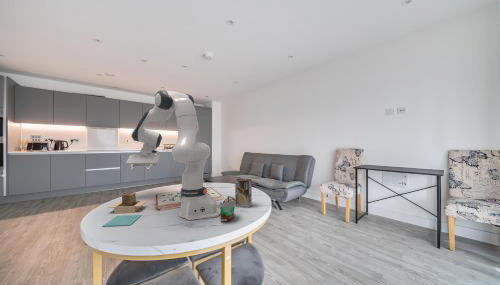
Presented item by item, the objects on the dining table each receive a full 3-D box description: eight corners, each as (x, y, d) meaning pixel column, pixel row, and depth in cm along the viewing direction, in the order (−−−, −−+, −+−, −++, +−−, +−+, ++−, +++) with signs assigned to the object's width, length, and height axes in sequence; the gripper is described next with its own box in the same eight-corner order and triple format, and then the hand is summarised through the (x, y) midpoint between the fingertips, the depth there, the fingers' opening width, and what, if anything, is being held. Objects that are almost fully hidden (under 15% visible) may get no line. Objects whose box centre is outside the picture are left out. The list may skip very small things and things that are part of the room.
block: (135, 208, 111) (135, 192, 111) (131, 211, 106) (131, 195, 106) (126, 208, 111) (126, 193, 111) (121, 211, 106) (121, 195, 106)
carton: (147, 206, 115) (147, 200, 115) (140, 212, 105) (140, 206, 105) (118, 207, 113) (118, 201, 113) (108, 213, 102) (108, 207, 102)
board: (141, 215, 100) (141, 214, 100) (130, 225, 88) (130, 224, 88) (117, 216, 99) (117, 215, 99) (102, 226, 87) (102, 225, 87)
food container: (231, 224, 90) (232, 203, 90) (219, 223, 91) (219, 202, 91) (238, 215, 102) (238, 196, 102) (227, 214, 103) (227, 195, 103)
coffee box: (252, 204, 119) (252, 179, 119) (249, 207, 113) (249, 181, 113) (238, 203, 122) (238, 178, 122) (234, 206, 115) (234, 180, 115)
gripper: (129, 151, 129) (121, 167, 119) (160, 151, 132) (155, 167, 122) (132, 157, 133) (124, 173, 124) (162, 157, 136) (157, 173, 126)
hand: (140, 170), depth 123 cm, fingers open, 8 cm apart
